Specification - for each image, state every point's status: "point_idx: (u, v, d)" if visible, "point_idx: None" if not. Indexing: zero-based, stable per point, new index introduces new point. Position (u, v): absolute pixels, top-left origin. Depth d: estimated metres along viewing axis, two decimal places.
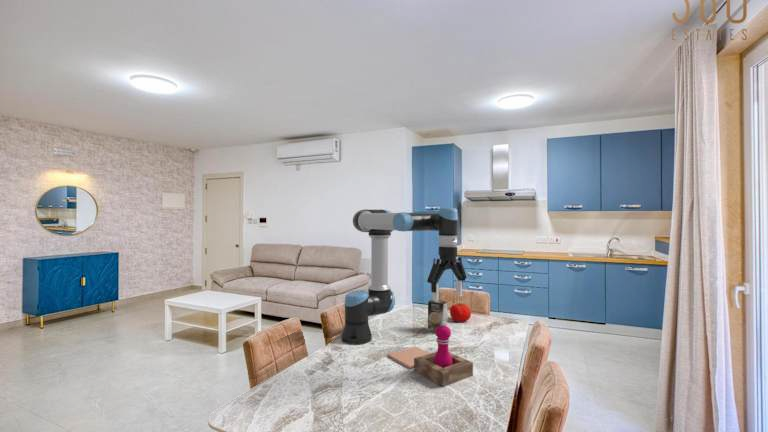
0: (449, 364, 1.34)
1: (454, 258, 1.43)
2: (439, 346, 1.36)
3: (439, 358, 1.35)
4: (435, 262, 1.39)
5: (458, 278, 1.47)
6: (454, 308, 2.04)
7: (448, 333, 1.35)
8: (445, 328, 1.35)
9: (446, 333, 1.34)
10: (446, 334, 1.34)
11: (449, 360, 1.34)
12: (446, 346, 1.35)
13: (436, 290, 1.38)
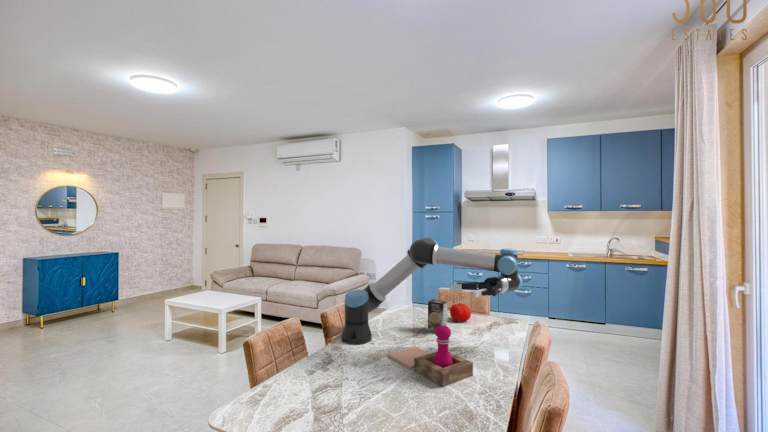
0: (449, 364, 1.34)
1: None
2: (439, 346, 1.36)
3: (439, 358, 1.35)
4: (499, 289, 1.46)
5: None
6: (454, 308, 2.04)
7: (448, 333, 1.35)
8: (445, 328, 1.35)
9: (446, 333, 1.34)
10: (446, 334, 1.34)
11: (449, 360, 1.34)
12: (446, 346, 1.35)
13: (483, 295, 1.40)
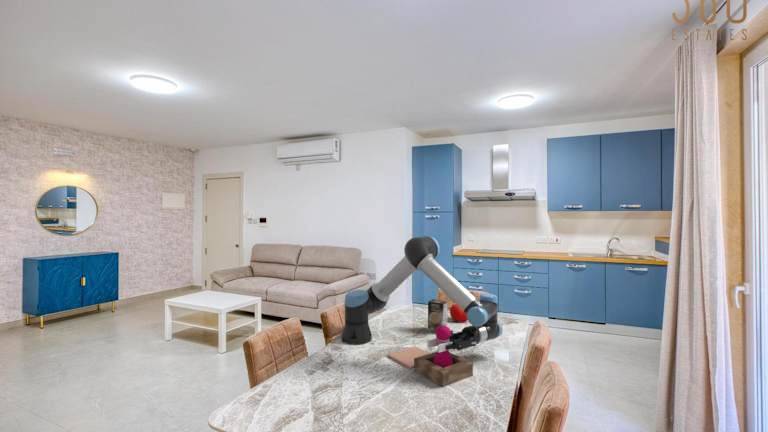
0: (449, 364, 1.34)
1: None
2: None
3: (439, 358, 1.35)
4: (473, 343, 1.38)
5: None
6: (454, 308, 2.04)
7: (448, 333, 1.35)
8: (445, 328, 1.35)
9: (446, 333, 1.34)
10: (446, 334, 1.34)
11: (449, 360, 1.34)
12: None
13: (447, 349, 1.34)
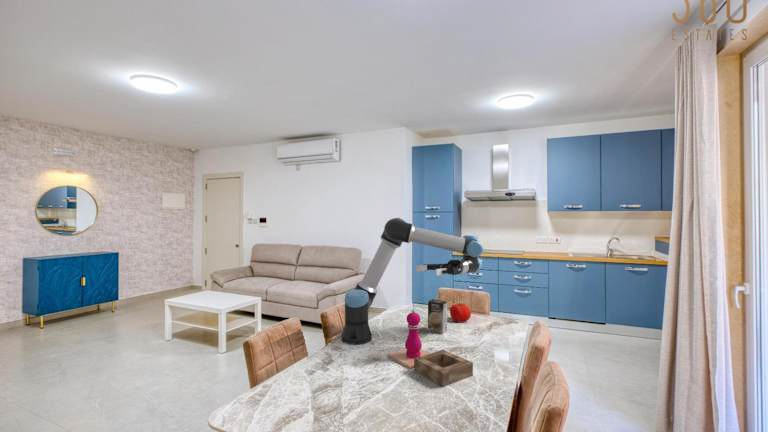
0: (418, 347, 1.49)
1: None
2: (409, 331, 1.50)
3: (409, 342, 1.49)
4: (459, 269, 1.67)
5: (427, 266, 1.74)
6: (454, 308, 2.04)
7: (417, 319, 1.49)
8: (415, 315, 1.50)
9: (415, 319, 1.49)
10: (415, 320, 1.49)
11: (418, 343, 1.49)
12: (416, 331, 1.50)
13: (443, 273, 1.61)
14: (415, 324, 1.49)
